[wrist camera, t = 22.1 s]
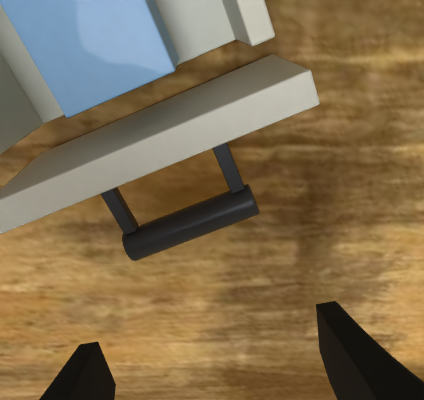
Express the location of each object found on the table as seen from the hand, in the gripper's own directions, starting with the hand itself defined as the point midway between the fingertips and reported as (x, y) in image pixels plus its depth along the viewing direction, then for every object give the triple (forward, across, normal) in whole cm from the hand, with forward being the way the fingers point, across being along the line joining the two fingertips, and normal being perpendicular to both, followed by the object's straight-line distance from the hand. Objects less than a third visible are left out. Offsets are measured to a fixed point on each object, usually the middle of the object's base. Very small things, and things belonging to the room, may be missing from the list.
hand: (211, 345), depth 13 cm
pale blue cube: (+8, +2, -10) cm, 13 cm away
